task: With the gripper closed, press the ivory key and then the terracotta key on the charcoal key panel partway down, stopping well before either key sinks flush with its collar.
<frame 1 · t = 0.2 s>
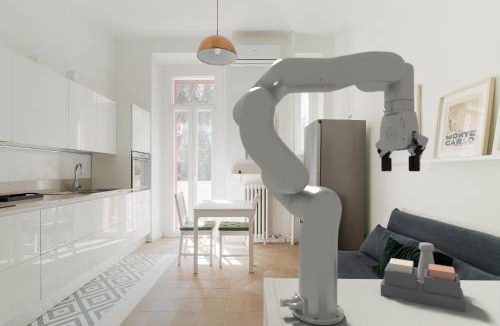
hand: (399, 171, 83), 36 cm above the table, tool pointing down, fingers open, 9 cm apart
ivory key: (401, 268, 89), point 7 cm above the table, slide at 0.0 cm
salt shaker: (426, 284, 96), on the table
key panel: (420, 296, 86), on the table
terracotta key: (441, 274, 84), point 7 cm above the table, slide at 0.0 cm
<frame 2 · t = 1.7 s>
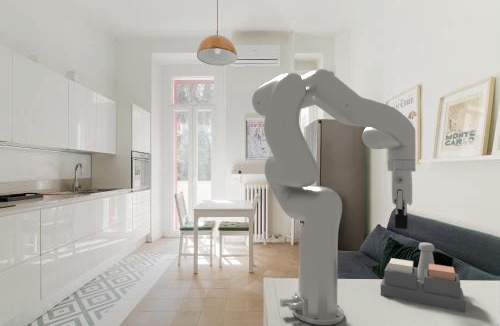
hand: (401, 228, 89), 19 cm above the table, tool pointing down, fingers closed
nothing on the table moved.
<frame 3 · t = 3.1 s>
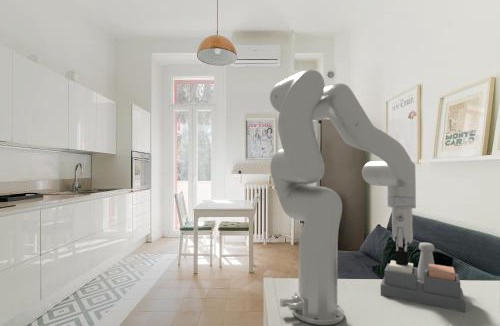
hand: (401, 264, 89), 8 cm above the table, tool pointing down, fingers closed
ivory key: (401, 270, 89), point 7 cm above the table, slide at 0.6 cm, touching gripper
everything else where it was.
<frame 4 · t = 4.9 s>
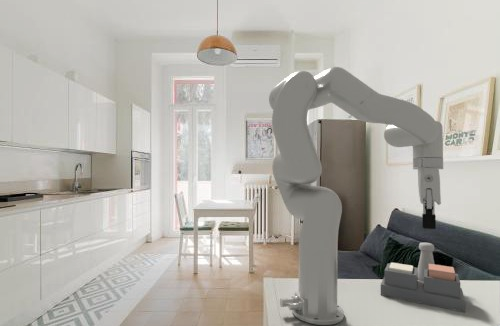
hand: (429, 228, 86), 20 cm above the table, tool pointing down, fingers closed
ivory key: (401, 272, 89), point 6 cm above the table, slide at 1.3 cm
everything else where it was.
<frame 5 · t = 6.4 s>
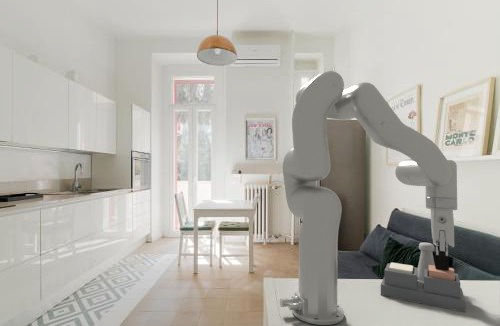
hand: (442, 269, 84), 9 cm above the table, tool pointing down, fingers closed
terracotta key: (441, 275, 84), point 7 cm above the table, slide at 0.4 cm, touching gripper
everything else where it was.
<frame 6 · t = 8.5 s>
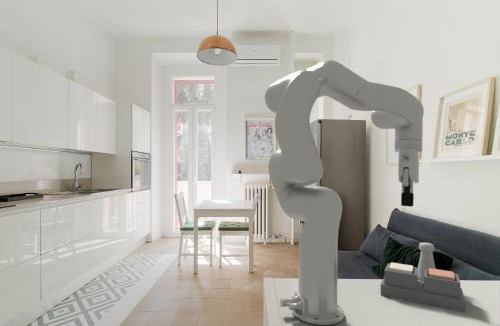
hand: (407, 205, 92), 25 cm above the table, tool pointing down, fingers closed
terracotta key: (441, 279, 84), point 6 cm above the table, slide at 1.3 cm
everything else where it was.
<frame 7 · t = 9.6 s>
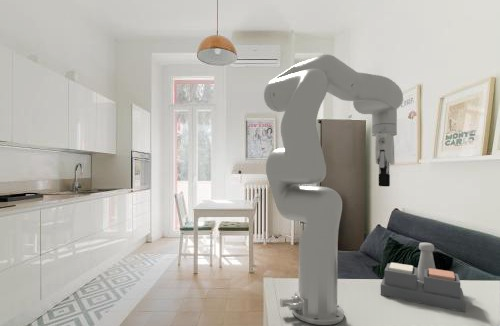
hand: (384, 186, 99), 31 cm above the table, tool pointing down, fingers closed
nothing on the table moved.
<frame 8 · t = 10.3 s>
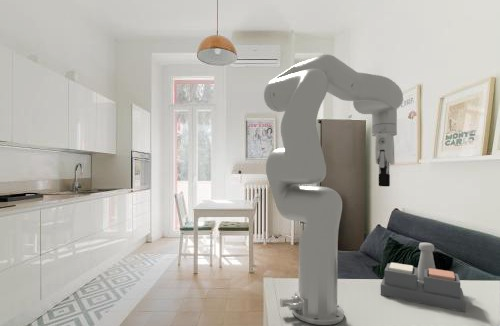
hand: (384, 186, 99), 31 cm above the table, tool pointing down, fingers closed
nothing on the table moved.
at the end: ivory key slide at 1.3 cm; terracotta key slide at 1.3 cm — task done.
